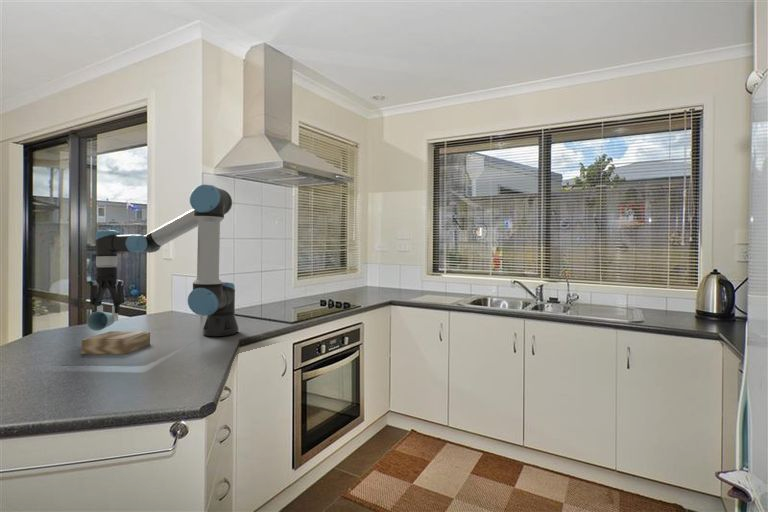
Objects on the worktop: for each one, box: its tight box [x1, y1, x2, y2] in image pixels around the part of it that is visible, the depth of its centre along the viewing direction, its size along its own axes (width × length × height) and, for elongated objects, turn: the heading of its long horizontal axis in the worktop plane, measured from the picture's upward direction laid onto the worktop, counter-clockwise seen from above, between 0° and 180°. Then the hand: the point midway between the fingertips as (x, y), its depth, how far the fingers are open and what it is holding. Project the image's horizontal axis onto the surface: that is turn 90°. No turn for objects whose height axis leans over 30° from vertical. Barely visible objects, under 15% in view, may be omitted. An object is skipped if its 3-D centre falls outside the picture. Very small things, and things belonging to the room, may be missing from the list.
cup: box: [86, 311, 116, 332], centre depth 174 cm, size 8×8×10 cm
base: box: [81, 330, 151, 355], centre depth 161 cm, size 16×16×5 cm
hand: (107, 320), depth 179 cm, fingers closed on cup, 6 cm apart
